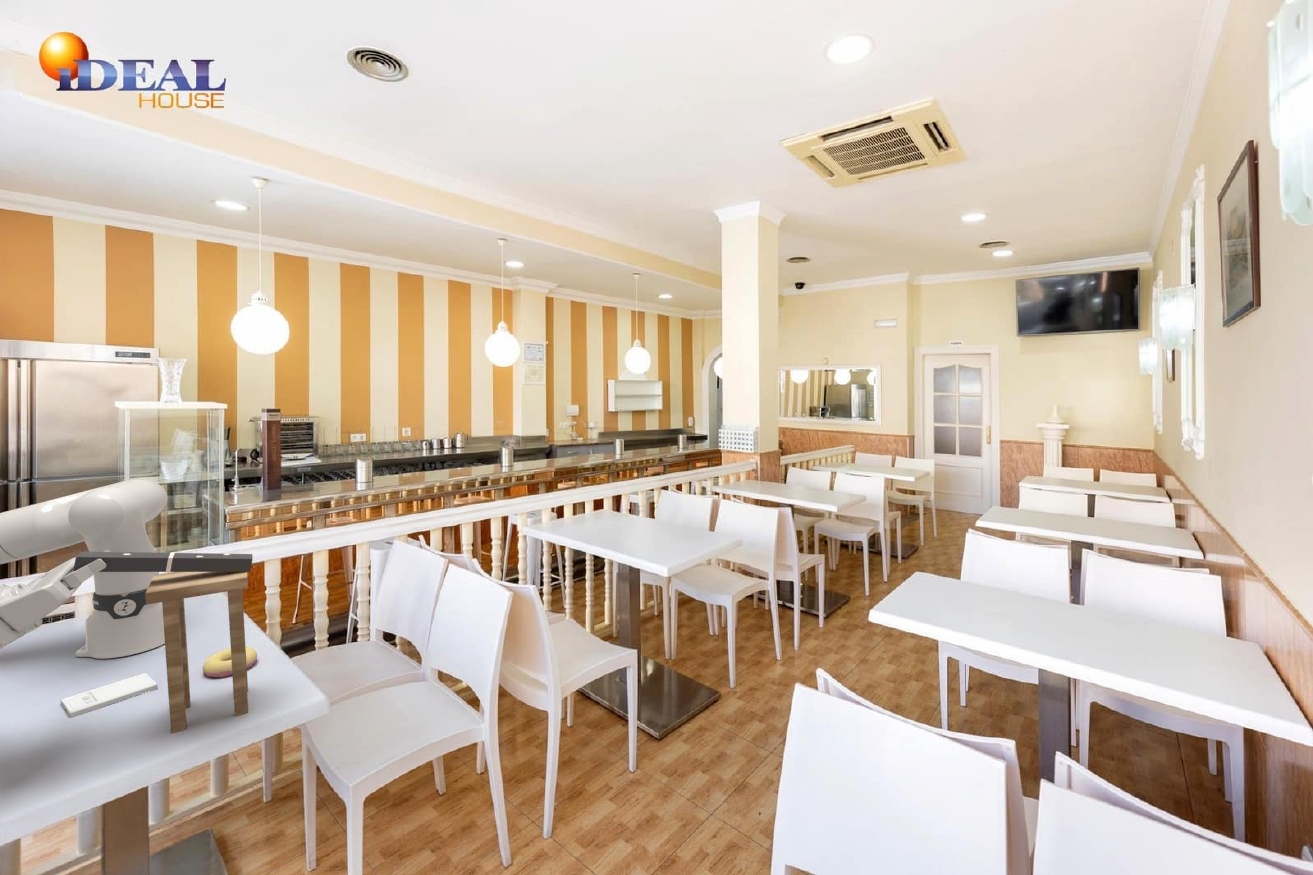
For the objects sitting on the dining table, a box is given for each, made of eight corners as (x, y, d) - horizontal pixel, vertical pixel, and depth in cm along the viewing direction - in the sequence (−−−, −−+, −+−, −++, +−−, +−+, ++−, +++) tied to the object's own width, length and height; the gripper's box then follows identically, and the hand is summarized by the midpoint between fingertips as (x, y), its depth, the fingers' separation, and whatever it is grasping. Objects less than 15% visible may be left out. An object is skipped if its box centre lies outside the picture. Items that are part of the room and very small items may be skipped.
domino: (78, 566, 96) (81, 550, 96) (250, 566, 110) (252, 553, 110) (72, 572, 92) (75, 556, 92) (250, 572, 107) (252, 558, 107)
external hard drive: (157, 691, 113) (70, 720, 103) (145, 679, 118) (60, 706, 108) (157, 683, 113) (69, 711, 103) (145, 672, 118) (60, 698, 108)
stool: (163, 707, 107) (154, 574, 105) (253, 685, 115) (247, 561, 113) (155, 739, 97) (145, 593, 95) (254, 712, 105) (247, 577, 103)
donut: (262, 666, 128) (216, 664, 126) (266, 645, 128) (220, 643, 126) (241, 681, 118) (190, 679, 116) (245, 658, 119) (195, 656, 116)
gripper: (41, 606, 99) (130, 557, 106) (1, 649, 83) (110, 587, 89) (12, 580, 97) (105, 531, 103) (-35, 618, 80) (79, 557, 87)
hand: (107, 557), depth 96 cm, fingers closed on domino, 4 cm apart
